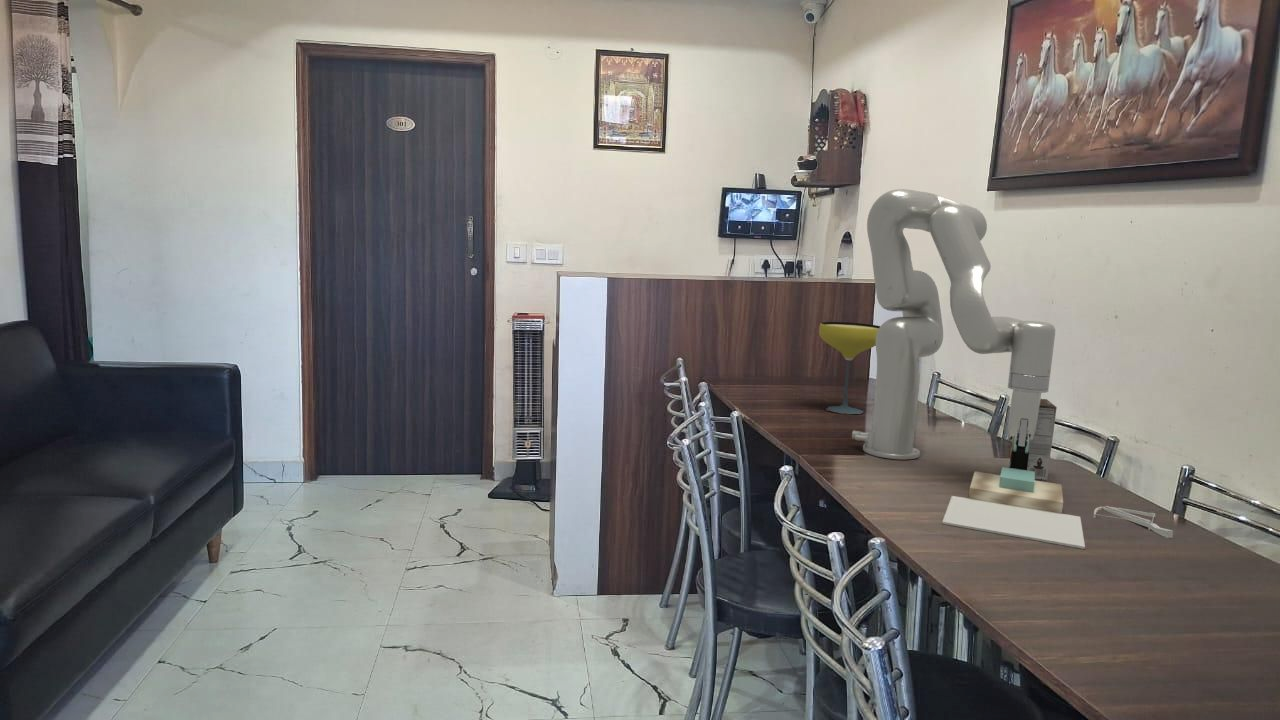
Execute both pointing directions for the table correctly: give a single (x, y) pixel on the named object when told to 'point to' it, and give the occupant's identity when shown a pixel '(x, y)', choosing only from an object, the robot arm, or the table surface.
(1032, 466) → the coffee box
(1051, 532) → the white mat
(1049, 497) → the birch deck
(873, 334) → the cocktail glass
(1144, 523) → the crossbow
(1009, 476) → the teal tile
